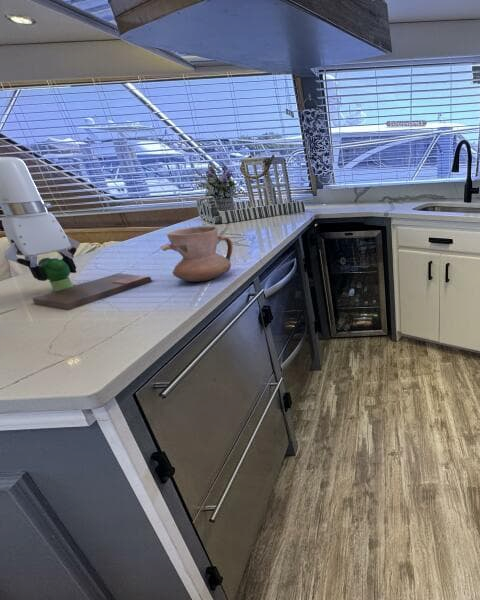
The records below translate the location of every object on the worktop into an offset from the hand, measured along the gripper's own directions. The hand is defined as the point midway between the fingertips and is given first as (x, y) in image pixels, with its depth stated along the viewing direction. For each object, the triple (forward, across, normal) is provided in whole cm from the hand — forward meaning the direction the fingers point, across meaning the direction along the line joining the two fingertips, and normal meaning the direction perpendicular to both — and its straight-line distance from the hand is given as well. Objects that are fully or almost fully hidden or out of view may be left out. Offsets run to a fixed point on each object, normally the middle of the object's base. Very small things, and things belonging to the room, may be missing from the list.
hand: (57, 275), depth 89 cm
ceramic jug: (+4, -18, +34) cm, 39 cm away
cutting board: (+4, -1, +13) cm, 14 cm away
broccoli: (+4, 0, 0) cm, 4 cm away
